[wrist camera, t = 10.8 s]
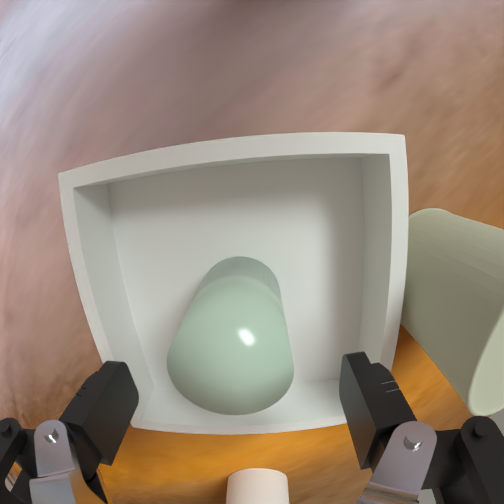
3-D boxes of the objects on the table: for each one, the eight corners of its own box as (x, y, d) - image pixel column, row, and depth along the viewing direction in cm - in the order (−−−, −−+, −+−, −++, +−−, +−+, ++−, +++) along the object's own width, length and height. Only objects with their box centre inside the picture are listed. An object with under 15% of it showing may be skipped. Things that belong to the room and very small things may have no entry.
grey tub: (100, 171, 17) (57, 173, 12) (368, 143, 16) (404, 134, 12) (150, 387, 22) (133, 427, 17) (360, 375, 21) (379, 415, 16)
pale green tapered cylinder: (196, 260, 18) (152, 320, 10) (277, 252, 17) (292, 312, 10) (208, 330, 19) (182, 414, 11) (282, 325, 19) (295, 411, 11)
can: (480, 268, 18) (577, 327, 7) (409, 342, 20) (483, 441, 9) (438, 182, 17) (572, 204, 5) (351, 267, 19) (450, 375, 7)
